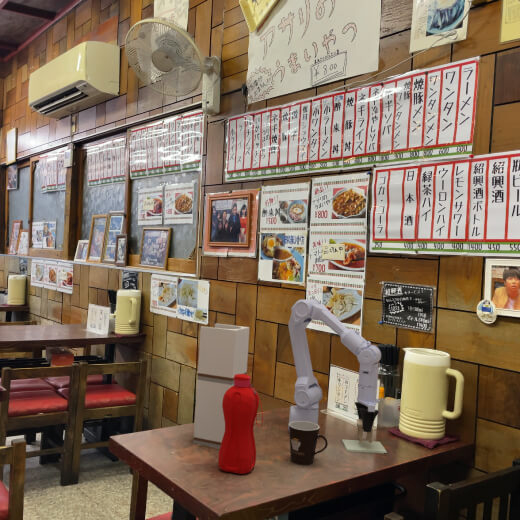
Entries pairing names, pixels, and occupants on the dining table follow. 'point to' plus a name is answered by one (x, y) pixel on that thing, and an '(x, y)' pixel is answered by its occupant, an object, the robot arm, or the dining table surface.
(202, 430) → the grey tall box
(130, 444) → the dining table surface
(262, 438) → the dining table surface
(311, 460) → the coffee mug
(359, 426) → the wooden stool
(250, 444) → the water bottle
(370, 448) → the rubber mat
